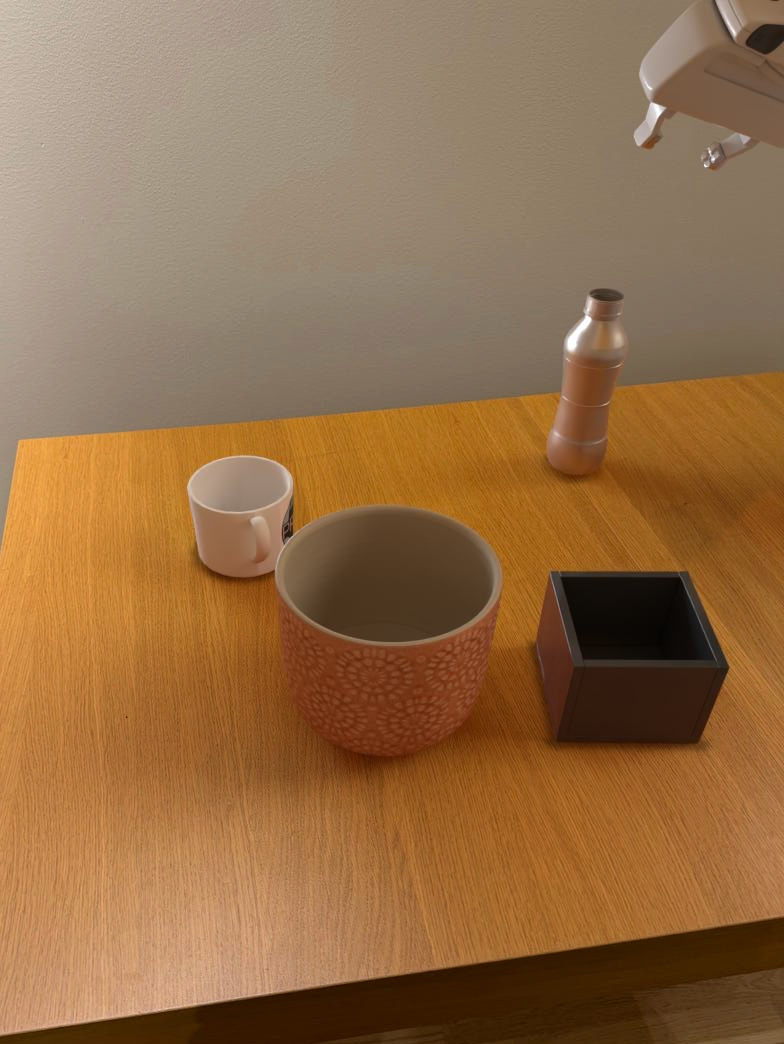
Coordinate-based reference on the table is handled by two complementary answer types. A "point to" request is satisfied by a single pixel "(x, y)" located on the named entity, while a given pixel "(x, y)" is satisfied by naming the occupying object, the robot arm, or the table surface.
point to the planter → (386, 625)
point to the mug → (241, 514)
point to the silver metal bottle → (588, 384)
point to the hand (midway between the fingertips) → (674, 153)
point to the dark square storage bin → (627, 657)
